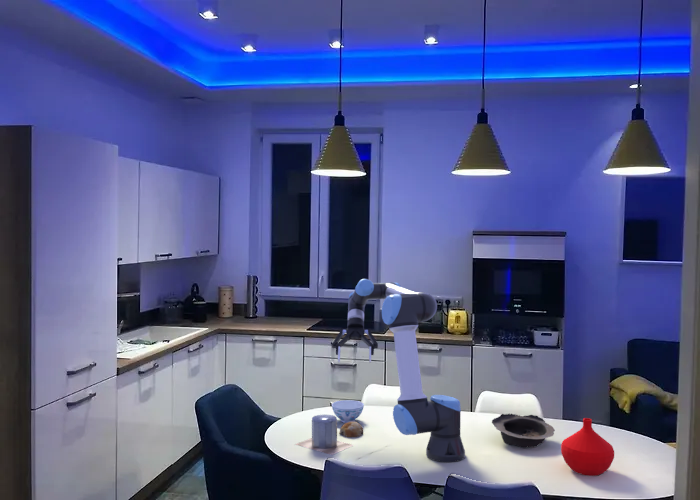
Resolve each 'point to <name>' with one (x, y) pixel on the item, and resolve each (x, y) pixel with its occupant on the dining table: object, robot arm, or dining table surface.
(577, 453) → the vase
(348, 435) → the bread roll
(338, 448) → the striped cloth
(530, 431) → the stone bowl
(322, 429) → the steel tin
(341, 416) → the chinaware
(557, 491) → the dining table surface
